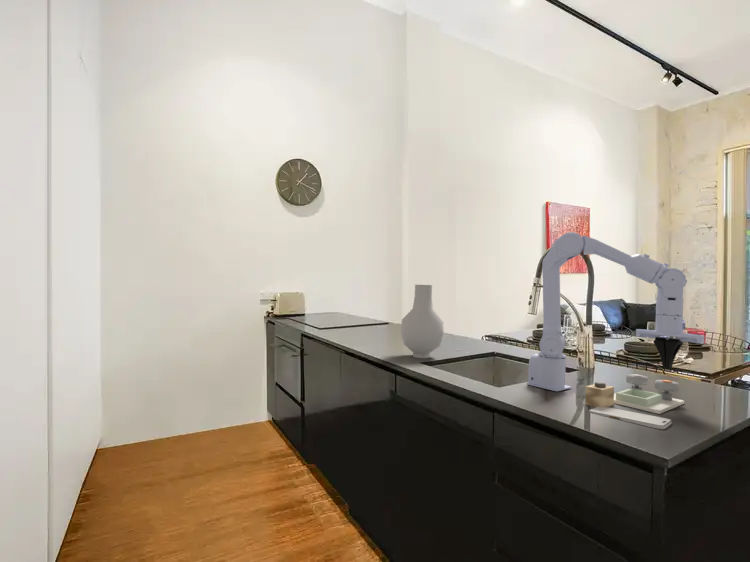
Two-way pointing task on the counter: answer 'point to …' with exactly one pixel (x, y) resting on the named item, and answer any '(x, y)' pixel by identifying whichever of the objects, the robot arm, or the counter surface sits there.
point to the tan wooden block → (599, 395)
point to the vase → (422, 324)
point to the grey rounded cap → (667, 385)
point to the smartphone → (633, 417)
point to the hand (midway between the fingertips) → (667, 368)
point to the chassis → (645, 397)
